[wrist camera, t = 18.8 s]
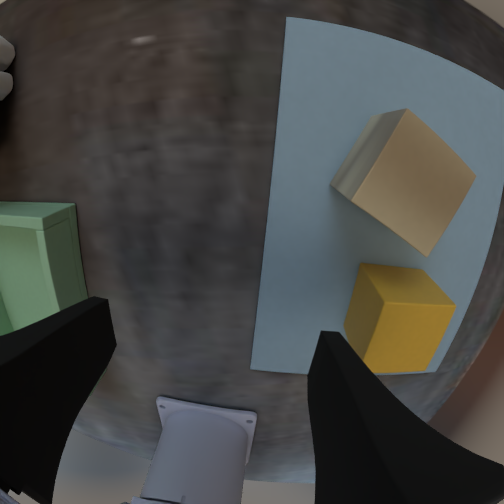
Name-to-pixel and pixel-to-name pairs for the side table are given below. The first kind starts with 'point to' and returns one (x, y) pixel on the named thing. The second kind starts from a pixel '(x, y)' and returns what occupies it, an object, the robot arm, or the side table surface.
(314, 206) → the placemat
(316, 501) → the robot arm
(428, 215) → the birch block
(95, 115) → the side table surface
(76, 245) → the box
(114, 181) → the side table surface
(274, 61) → the side table surface
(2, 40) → the elephant figurine
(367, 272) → the mustard block
